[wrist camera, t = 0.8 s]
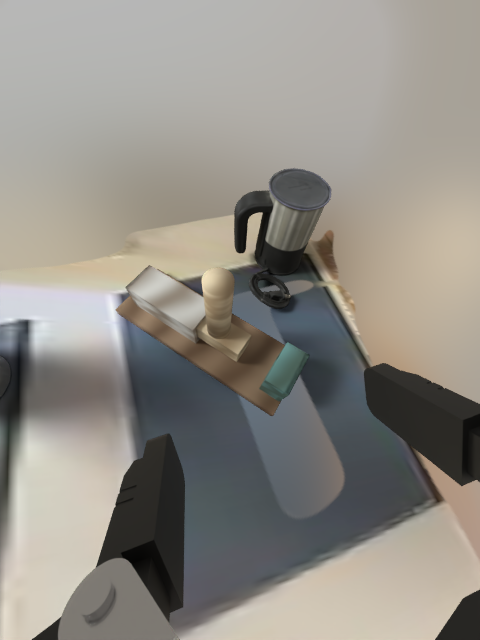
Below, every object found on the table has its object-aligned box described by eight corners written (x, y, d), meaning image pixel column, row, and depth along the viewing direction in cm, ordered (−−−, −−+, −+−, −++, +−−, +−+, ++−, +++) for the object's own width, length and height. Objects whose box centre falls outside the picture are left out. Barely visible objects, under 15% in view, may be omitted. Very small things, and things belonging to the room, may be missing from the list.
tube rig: (118, 314, 40) (100, 290, 34) (159, 274, 44) (149, 246, 38) (271, 416, 35) (282, 410, 28) (301, 359, 39) (317, 344, 32)
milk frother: (287, 235, 51) (311, 162, 38) (328, 294, 45) (373, 232, 32) (224, 252, 47) (226, 180, 34) (259, 319, 41) (277, 262, 28)
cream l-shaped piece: (141, 301, 39) (101, 229, 26) (156, 286, 40) (125, 211, 27) (236, 361, 35) (246, 315, 22) (248, 343, 37) (264, 289, 24)
